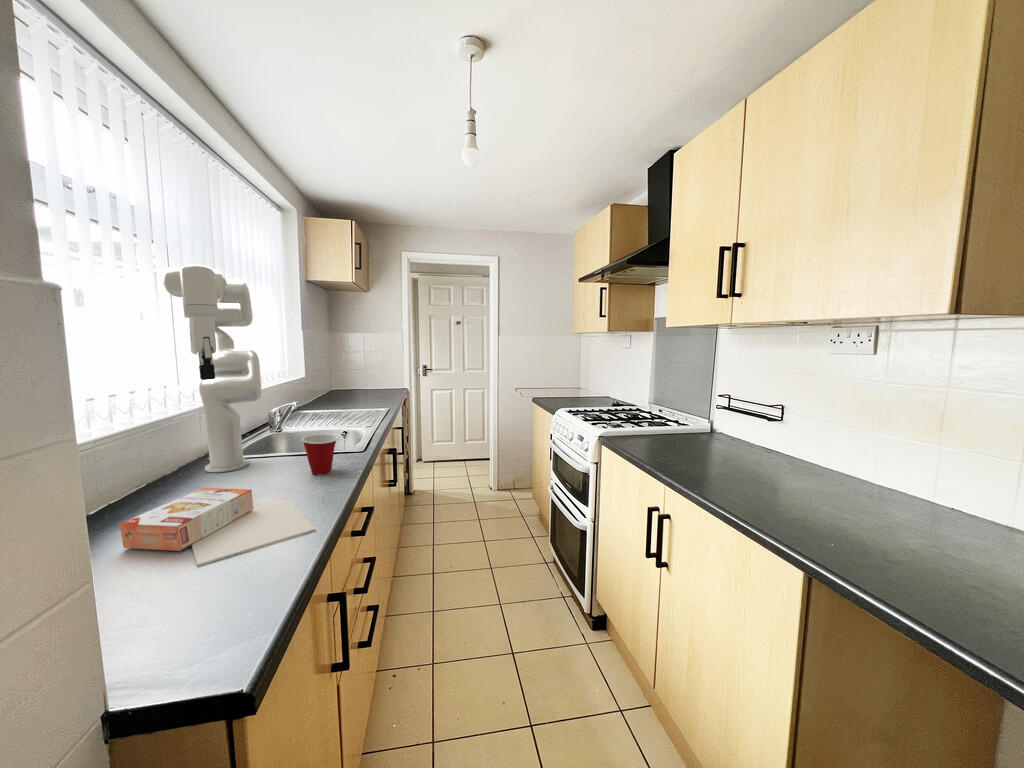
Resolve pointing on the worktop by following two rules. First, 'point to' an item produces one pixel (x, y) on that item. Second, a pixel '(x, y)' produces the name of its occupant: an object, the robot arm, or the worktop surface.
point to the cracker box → (186, 519)
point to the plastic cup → (320, 452)
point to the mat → (252, 532)
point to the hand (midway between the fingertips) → (207, 379)
